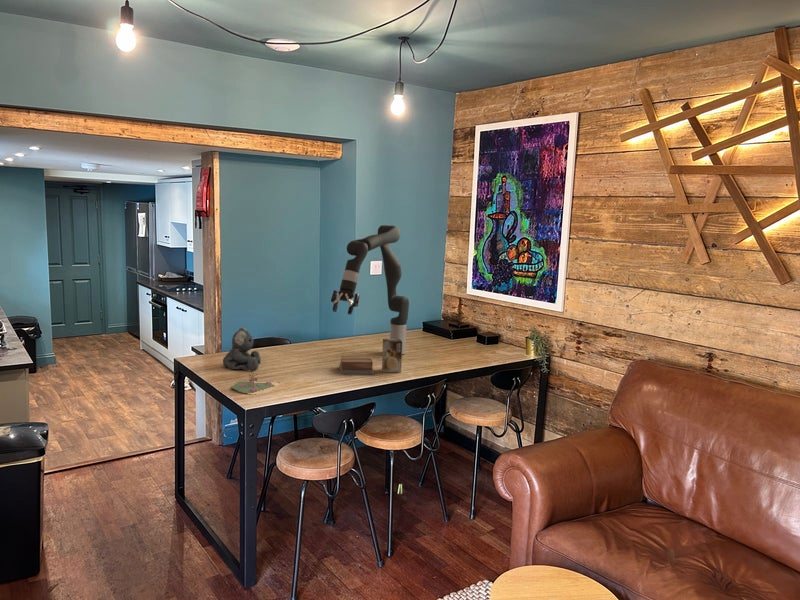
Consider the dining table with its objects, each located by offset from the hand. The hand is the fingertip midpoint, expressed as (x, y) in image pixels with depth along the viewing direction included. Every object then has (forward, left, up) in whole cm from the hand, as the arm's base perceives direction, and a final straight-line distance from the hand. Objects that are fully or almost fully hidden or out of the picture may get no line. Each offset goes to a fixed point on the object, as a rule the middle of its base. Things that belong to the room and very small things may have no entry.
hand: (341, 313), depth 290 cm
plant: (+23, -36, -31) cm, 53 cm away
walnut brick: (-6, +9, -28) cm, 30 cm away
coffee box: (-7, +27, -31) cm, 41 cm away
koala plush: (-11, -48, -31) cm, 58 cm away
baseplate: (-6, +9, -30) cm, 32 cm away
